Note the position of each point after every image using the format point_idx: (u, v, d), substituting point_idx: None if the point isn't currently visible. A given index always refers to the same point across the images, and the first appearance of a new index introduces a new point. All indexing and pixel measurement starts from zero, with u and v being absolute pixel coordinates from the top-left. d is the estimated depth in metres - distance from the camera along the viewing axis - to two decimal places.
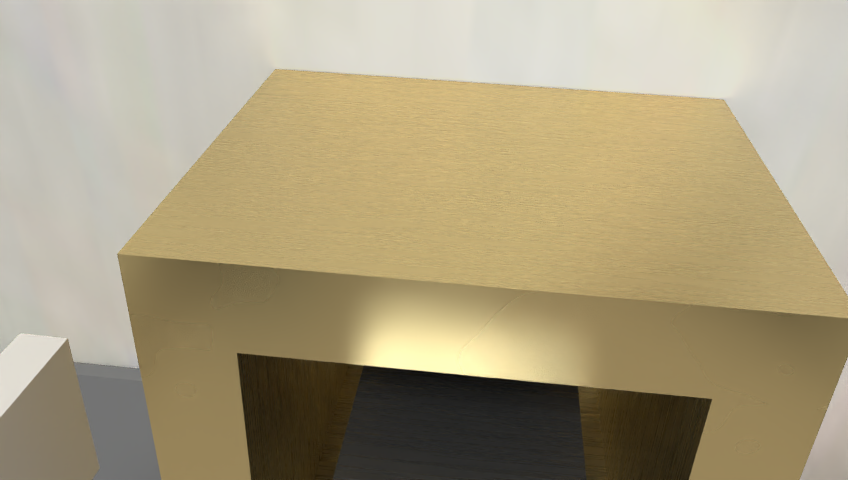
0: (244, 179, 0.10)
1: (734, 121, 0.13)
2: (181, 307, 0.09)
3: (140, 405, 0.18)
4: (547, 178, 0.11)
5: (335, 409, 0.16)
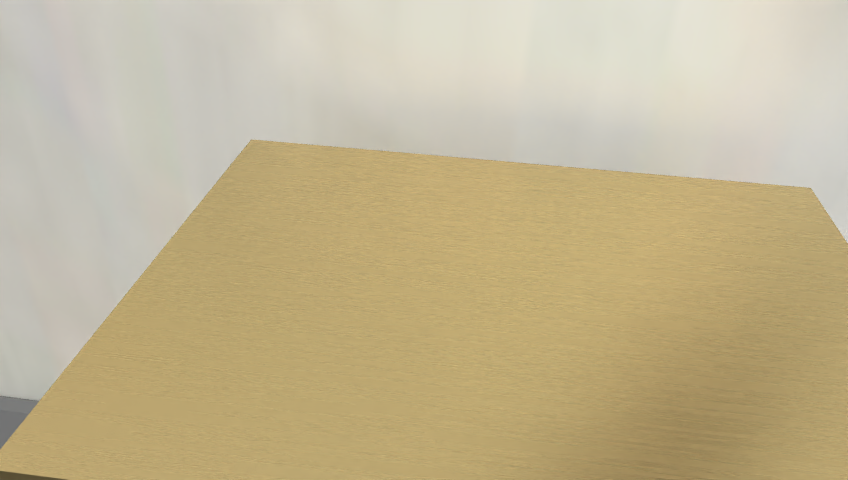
0: (186, 323, 0.08)
1: (830, 223, 0.10)
2: None
3: None
4: (597, 320, 0.08)
5: None
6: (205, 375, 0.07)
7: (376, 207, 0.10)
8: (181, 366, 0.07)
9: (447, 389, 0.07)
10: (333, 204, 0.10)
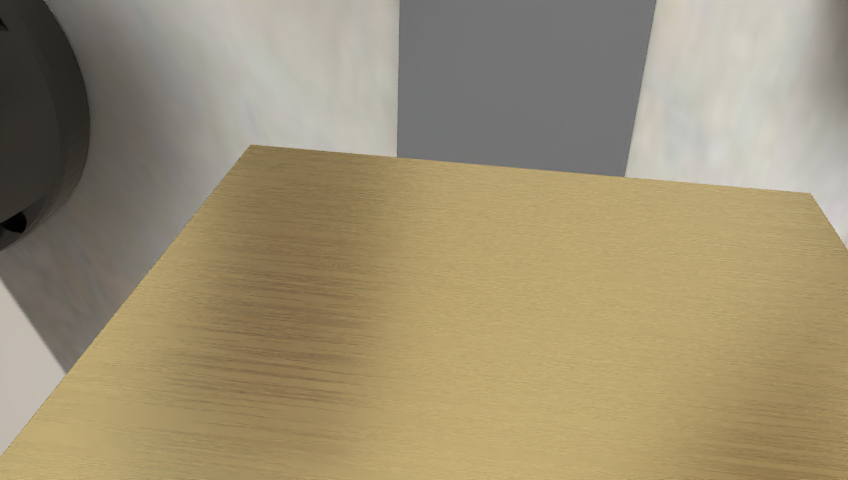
0: (186, 330, 0.08)
1: (829, 229, 0.10)
2: None
3: None
4: (596, 327, 0.08)
5: None
6: (203, 383, 0.07)
7: (375, 213, 0.10)
8: (179, 374, 0.07)
9: (446, 398, 0.07)
10: (332, 210, 0.10)
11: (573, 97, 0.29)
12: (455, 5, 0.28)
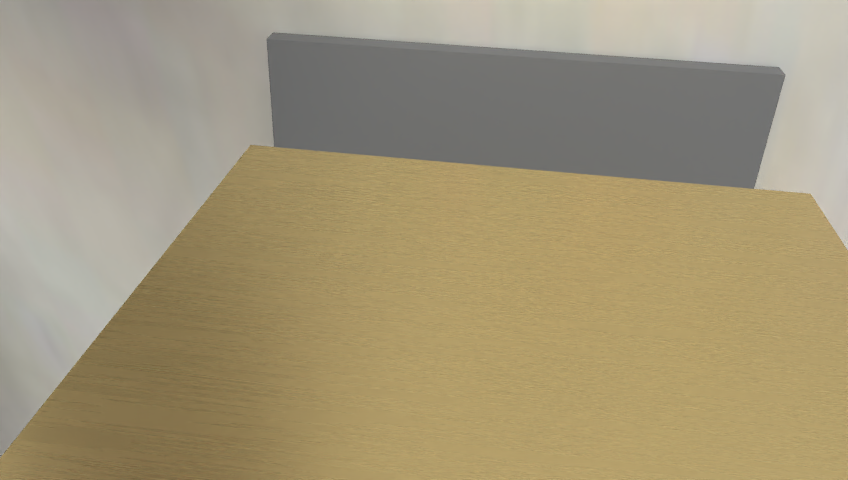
0: (186, 331, 0.08)
1: (829, 229, 0.10)
2: None
3: (705, 111, 0.14)
4: (596, 329, 0.08)
5: None
6: (204, 384, 0.07)
7: (375, 214, 0.10)
8: (180, 375, 0.07)
9: (446, 398, 0.07)
10: (332, 210, 0.10)
11: None
12: None
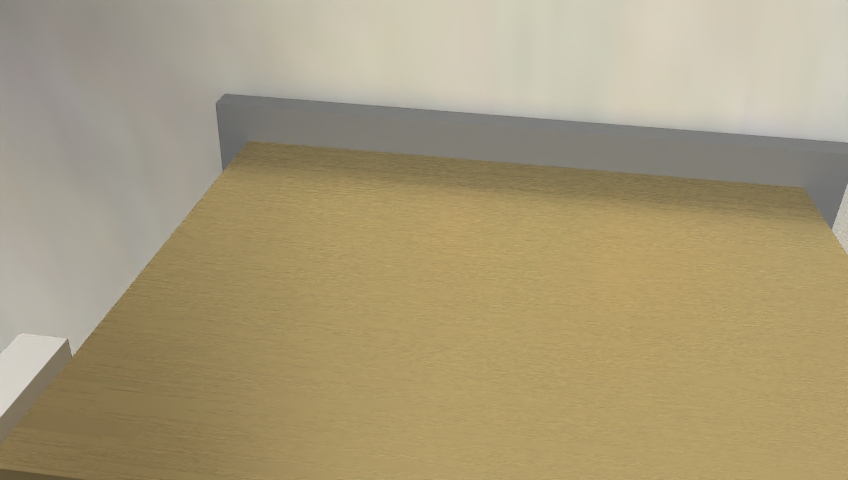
0: (184, 322, 0.08)
1: (822, 222, 0.10)
2: None
3: None
4: (589, 318, 0.08)
5: None
6: (201, 374, 0.07)
7: (372, 207, 0.10)
8: (178, 365, 0.07)
9: (440, 387, 0.07)
10: (329, 204, 0.10)
11: None
12: None
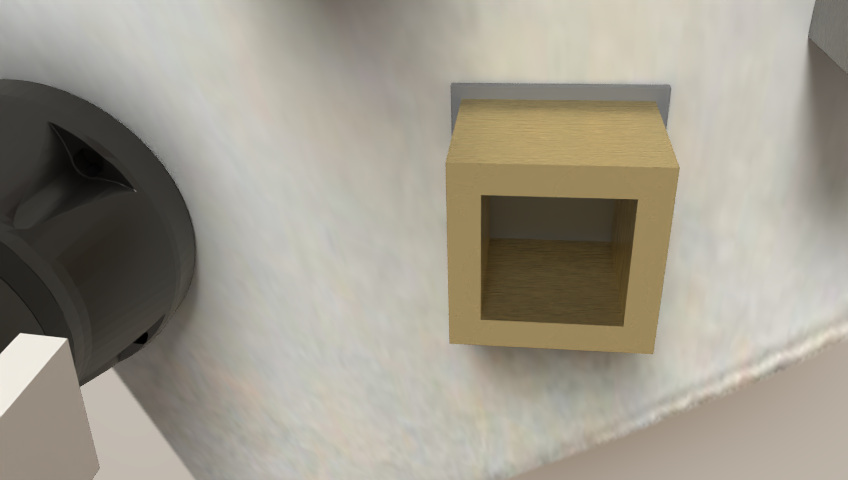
0: (472, 140, 0.29)
1: (657, 110, 0.31)
2: (464, 179, 0.28)
3: None
4: (581, 134, 0.29)
5: (488, 254, 0.35)
6: (483, 148, 0.29)
7: (512, 114, 0.31)
8: (476, 147, 0.29)
9: (543, 147, 0.28)
10: (498, 114, 0.32)
11: (600, 215, 0.35)
12: None
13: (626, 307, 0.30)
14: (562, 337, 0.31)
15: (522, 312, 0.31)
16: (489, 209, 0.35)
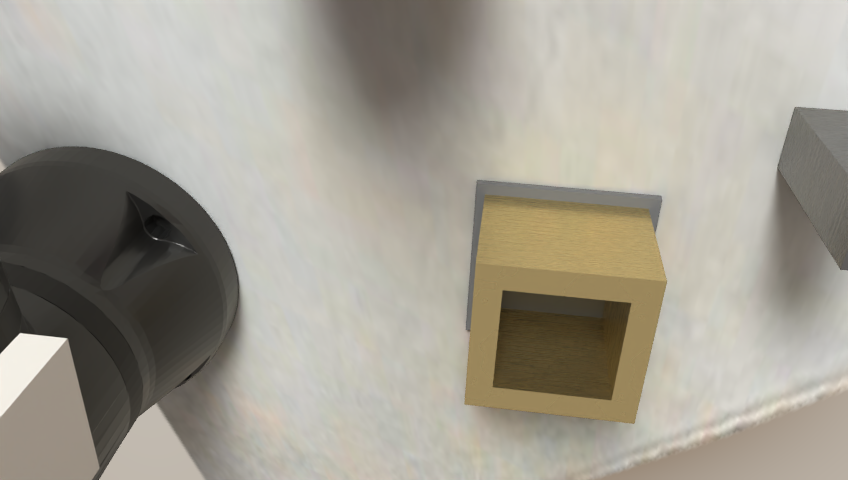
0: (496, 240, 0.35)
1: (649, 218, 0.37)
2: (489, 277, 0.34)
3: None
4: (586, 240, 0.35)
5: None
6: (506, 249, 0.34)
7: (528, 214, 0.37)
8: (500, 248, 0.35)
9: (556, 252, 0.34)
10: (517, 213, 0.37)
11: None
12: None
13: (615, 385, 0.36)
14: (560, 405, 0.37)
15: (527, 382, 0.37)
16: None
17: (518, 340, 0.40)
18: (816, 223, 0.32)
